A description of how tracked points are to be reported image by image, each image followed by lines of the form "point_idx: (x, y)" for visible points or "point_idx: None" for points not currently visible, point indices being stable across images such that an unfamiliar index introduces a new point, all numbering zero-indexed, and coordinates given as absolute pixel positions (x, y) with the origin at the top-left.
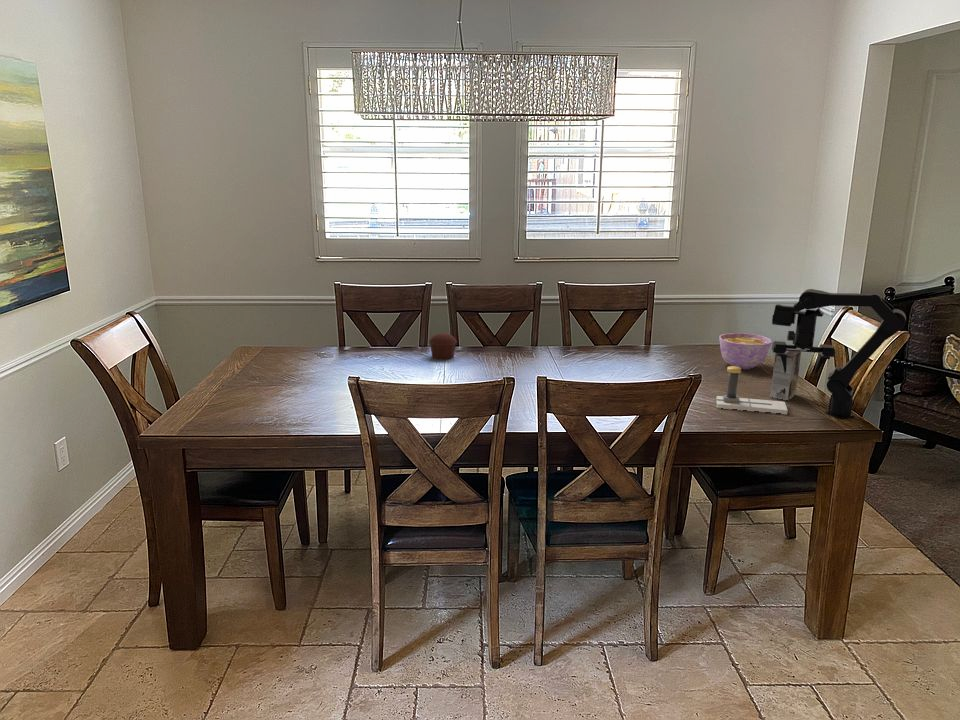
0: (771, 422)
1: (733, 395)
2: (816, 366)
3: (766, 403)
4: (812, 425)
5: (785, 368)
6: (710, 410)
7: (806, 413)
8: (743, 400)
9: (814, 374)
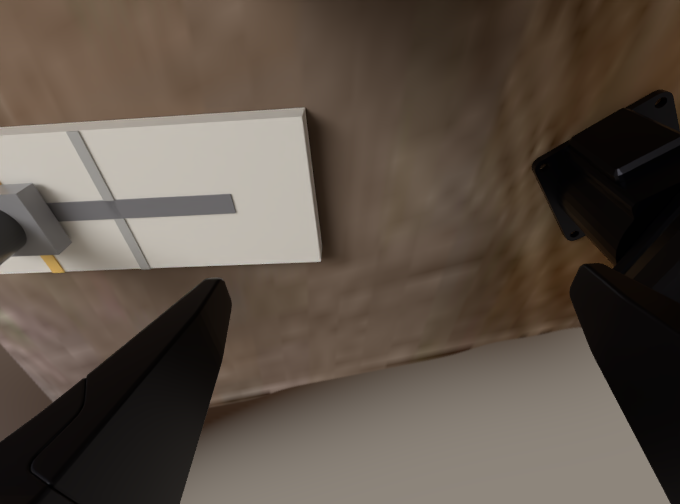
0: (266, 338)
1: (8, 258)
2: (655, 423)
3: (202, 199)
4: (412, 327)
5: (206, 377)
6: (11, 290)
7: (420, 201)
8: (66, 180)
9: (573, 304)
